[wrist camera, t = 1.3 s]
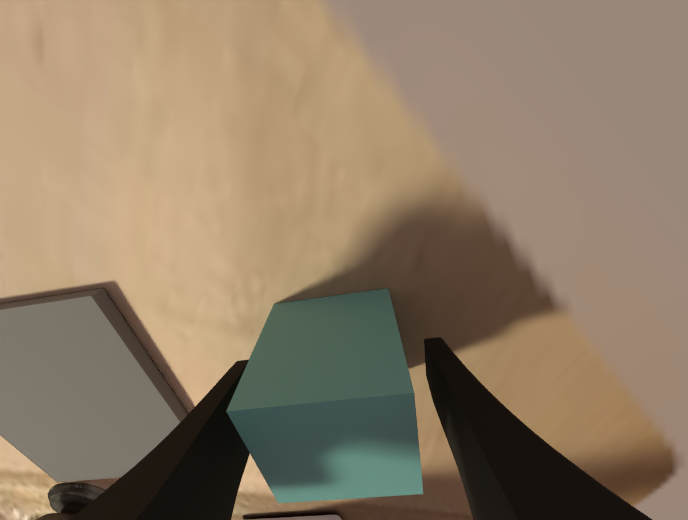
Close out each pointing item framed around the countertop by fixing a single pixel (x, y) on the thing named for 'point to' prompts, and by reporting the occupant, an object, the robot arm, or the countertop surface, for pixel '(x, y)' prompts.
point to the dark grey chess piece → (70, 499)
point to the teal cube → (330, 401)
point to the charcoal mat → (80, 387)
